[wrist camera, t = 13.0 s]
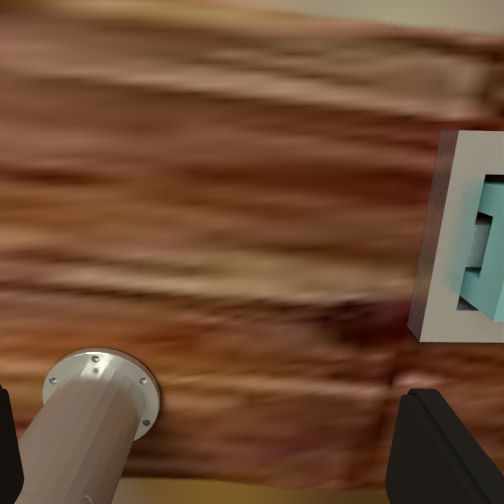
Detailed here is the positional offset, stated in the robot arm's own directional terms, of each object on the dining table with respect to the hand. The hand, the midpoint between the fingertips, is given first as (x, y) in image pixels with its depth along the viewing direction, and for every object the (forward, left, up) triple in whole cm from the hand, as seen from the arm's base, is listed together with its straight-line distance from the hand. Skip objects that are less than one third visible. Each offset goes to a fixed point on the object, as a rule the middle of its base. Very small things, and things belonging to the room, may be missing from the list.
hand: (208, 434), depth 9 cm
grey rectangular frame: (-3, -25, -28) cm, 37 cm away
